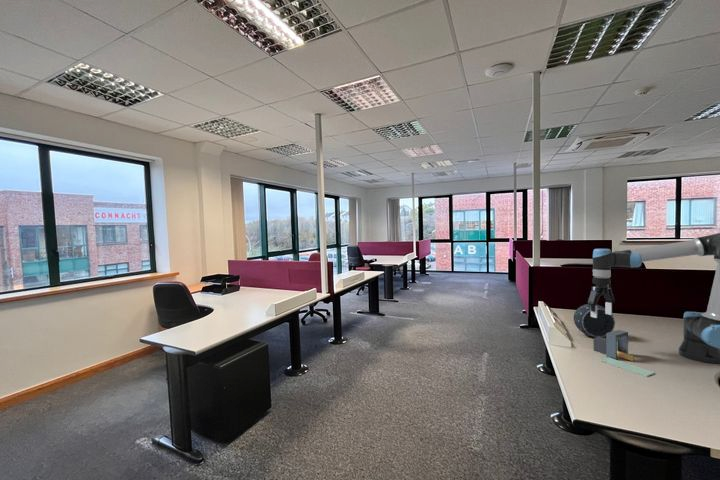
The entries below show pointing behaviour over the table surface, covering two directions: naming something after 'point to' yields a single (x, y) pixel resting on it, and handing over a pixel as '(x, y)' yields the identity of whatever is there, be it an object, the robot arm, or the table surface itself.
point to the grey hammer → (601, 347)
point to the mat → (628, 367)
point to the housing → (612, 343)
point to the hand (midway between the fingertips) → (601, 315)
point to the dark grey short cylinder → (593, 321)
